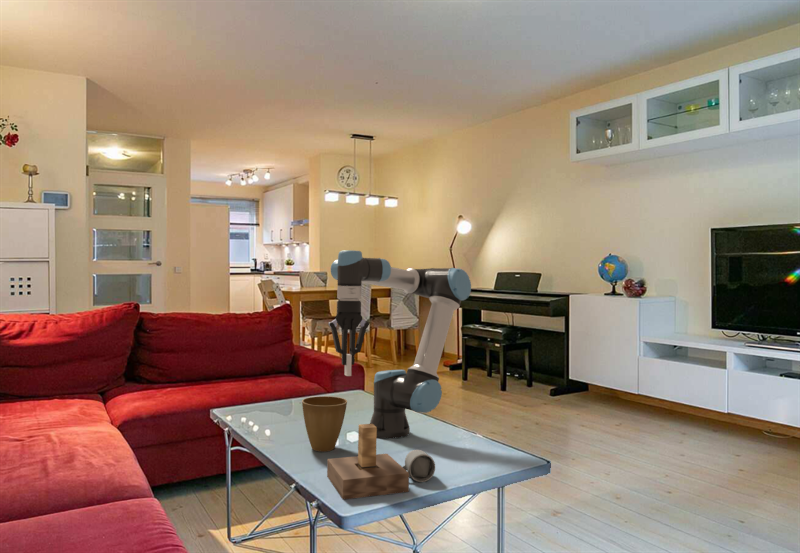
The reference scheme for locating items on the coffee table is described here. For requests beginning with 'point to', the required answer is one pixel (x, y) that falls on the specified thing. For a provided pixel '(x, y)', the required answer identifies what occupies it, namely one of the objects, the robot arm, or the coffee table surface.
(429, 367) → the robot arm
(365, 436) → the oak peg
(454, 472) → the coffee table surface
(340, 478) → the walnut socket block
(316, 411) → the plant pot
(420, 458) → the ceramic mug
